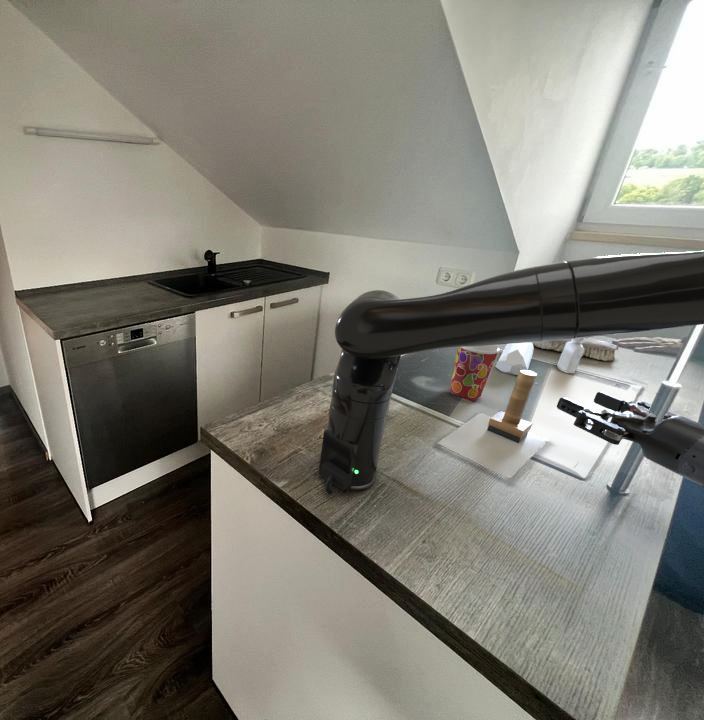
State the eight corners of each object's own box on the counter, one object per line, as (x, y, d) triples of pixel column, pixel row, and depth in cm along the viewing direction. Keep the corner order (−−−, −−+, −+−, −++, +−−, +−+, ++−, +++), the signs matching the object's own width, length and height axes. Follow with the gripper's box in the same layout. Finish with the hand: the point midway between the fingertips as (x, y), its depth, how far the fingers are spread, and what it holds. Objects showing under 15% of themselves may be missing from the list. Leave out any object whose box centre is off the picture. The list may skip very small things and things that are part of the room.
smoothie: (480, 392, 99) (504, 318, 91) (485, 407, 93) (511, 328, 85) (444, 386, 103) (463, 313, 95) (446, 400, 96) (467, 323, 88)
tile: (508, 483, 69) (510, 478, 68) (435, 447, 78) (436, 443, 78) (547, 443, 79) (549, 439, 79) (479, 416, 89) (480, 412, 89)
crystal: (502, 335, 128) (489, 357, 111) (528, 329, 122) (519, 351, 106) (509, 356, 128) (498, 381, 111) (536, 351, 123) (528, 376, 106)
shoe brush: (612, 356, 122) (619, 341, 120) (615, 364, 117) (622, 348, 115) (519, 339, 136) (524, 326, 134) (518, 345, 130) (523, 331, 128)
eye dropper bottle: (554, 370, 112) (569, 331, 107) (557, 364, 116) (572, 326, 111) (573, 375, 109) (589, 335, 105) (576, 369, 113) (592, 330, 108)
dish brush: (518, 443, 78) (542, 381, 72) (486, 430, 82) (505, 370, 76) (528, 435, 80) (551, 374, 75) (495, 422, 85) (515, 364, 79)
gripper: (752, 425, 53) (616, 375, 68) (681, 440, 50) (554, 384, 64) (723, 469, 56) (599, 412, 71) (654, 485, 53) (539, 422, 67)
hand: (578, 399), depth 67 cm, fingers open, 8 cm apart
